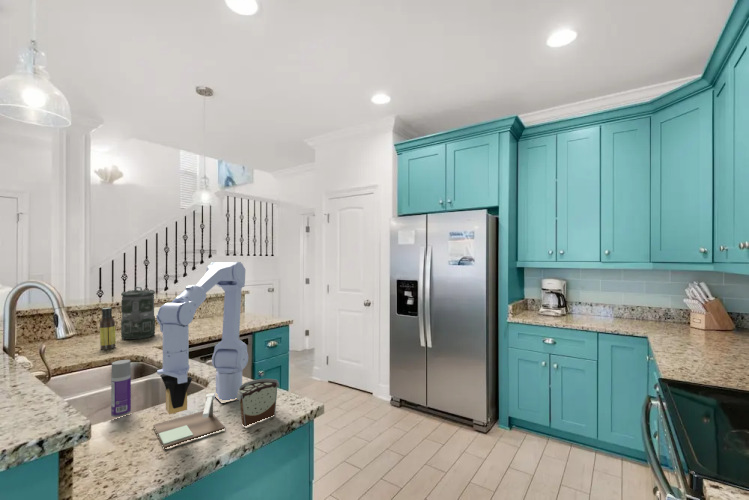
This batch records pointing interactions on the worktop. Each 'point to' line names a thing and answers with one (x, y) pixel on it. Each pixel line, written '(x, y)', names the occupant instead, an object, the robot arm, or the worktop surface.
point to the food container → (257, 400)
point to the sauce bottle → (107, 329)
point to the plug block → (170, 407)
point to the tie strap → (208, 404)
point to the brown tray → (191, 425)
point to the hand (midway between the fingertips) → (175, 404)
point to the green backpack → (137, 314)
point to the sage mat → (175, 434)
